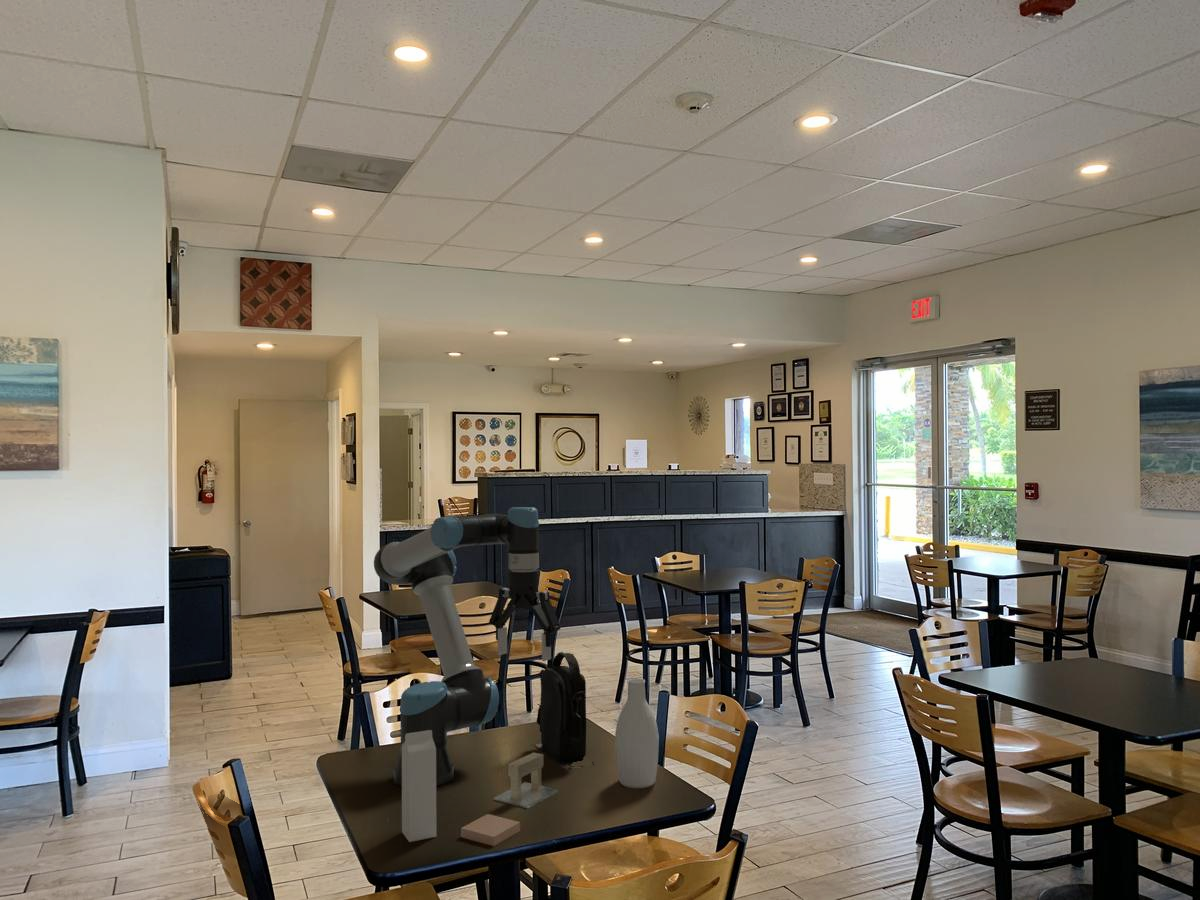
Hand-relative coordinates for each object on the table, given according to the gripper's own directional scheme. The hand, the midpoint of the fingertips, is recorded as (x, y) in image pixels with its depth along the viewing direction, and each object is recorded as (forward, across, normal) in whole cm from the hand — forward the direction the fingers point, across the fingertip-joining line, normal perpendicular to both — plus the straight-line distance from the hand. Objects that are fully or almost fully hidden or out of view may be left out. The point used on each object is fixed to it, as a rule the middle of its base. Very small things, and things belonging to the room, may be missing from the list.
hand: (524, 657), depth 214 cm
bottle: (+33, +20, +20) cm, 43 cm away
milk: (+33, -4, -32) cm, 46 cm away
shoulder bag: (+33, -8, +28) cm, 44 cm away
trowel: (+33, +2, -2) cm, 33 cm away
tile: (+32, +9, -19) cm, 38 cm away
